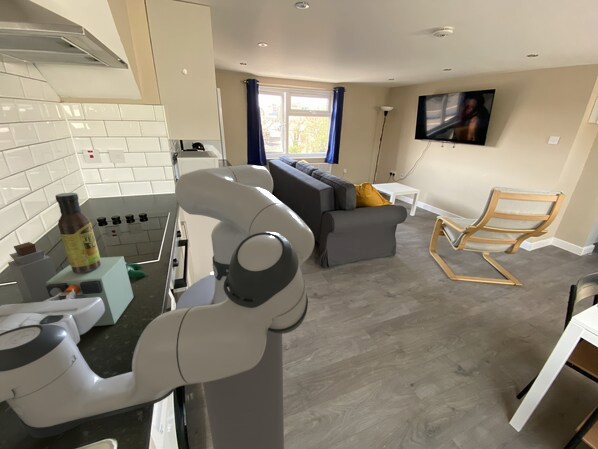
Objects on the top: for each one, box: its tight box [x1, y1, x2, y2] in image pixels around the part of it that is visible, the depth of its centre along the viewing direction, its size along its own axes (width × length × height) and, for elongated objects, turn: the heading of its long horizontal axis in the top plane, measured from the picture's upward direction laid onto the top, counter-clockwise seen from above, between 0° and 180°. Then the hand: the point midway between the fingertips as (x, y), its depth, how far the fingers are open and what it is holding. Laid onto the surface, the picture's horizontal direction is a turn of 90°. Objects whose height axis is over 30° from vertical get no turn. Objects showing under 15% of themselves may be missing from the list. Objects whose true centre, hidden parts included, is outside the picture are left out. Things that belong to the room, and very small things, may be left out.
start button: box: [64, 285, 80, 295], centre depth 62 cm, size 2×2×2 cm
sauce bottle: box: [55, 192, 101, 273], centre depth 65 cm, size 6×6×20 cm
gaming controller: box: [125, 262, 146, 278], centre depth 92 cm, size 9×4×6 cm
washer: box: [46, 255, 134, 327], centre depth 70 cm, size 14×12×14 cm
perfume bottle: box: [7, 241, 58, 303], centre depth 75 cm, size 7×7×18 cm
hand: (68, 294), depth 61 cm, fingers closed
